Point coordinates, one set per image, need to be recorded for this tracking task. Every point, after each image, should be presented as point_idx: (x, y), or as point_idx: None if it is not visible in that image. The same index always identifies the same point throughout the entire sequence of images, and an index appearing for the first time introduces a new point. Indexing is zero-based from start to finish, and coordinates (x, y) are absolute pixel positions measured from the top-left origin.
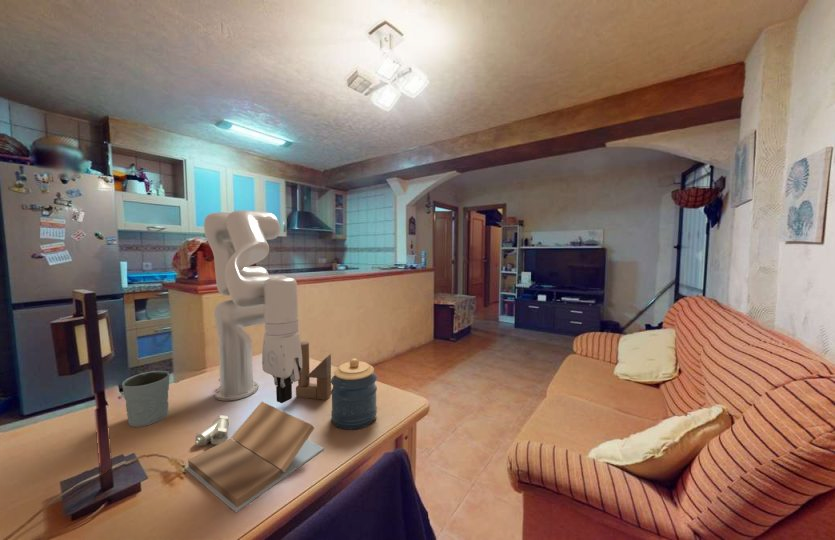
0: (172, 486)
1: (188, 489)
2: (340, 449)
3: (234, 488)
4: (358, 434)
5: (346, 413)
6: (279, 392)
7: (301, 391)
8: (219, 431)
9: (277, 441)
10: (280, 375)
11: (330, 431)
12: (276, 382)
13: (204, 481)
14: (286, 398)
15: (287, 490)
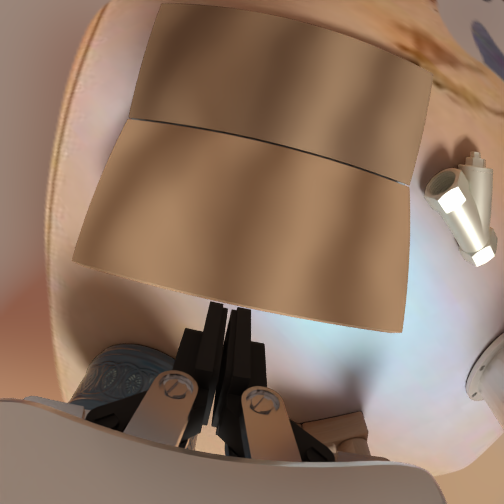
0: (393, 22)
1: (348, 17)
2: (83, 272)
3: (198, 18)
4: (90, 332)
5: (106, 372)
6: (209, 343)
7: (348, 428)
8: (452, 187)
9: (192, 184)
10: (50, 434)
11: (156, 328)
12: (262, 409)
13: None
14: (185, 332)
15: (98, 101)
